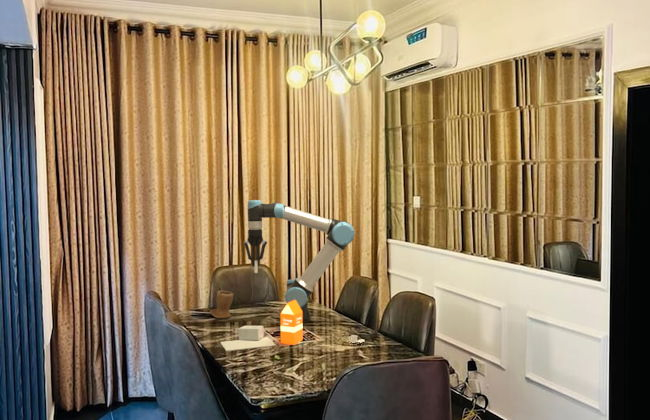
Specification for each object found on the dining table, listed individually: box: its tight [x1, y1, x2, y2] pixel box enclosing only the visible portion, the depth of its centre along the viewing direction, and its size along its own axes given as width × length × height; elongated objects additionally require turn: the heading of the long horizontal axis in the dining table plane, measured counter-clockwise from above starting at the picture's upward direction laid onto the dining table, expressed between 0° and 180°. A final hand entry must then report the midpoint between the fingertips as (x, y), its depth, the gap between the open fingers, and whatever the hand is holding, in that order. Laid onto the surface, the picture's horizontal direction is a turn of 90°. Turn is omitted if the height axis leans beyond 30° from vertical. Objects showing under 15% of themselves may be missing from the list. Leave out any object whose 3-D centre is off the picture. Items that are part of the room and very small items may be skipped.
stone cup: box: [209, 290, 234, 319], centre depth 333 cm, size 15×12×15 cm
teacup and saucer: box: [348, 334, 365, 344], centre depth 277 cm, size 9×8×4 cm
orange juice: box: [280, 300, 304, 346], centre depth 280 cm, size 8×9×20 cm
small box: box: [238, 325, 265, 340], centre depth 286 cm, size 8×6×10 cm
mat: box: [219, 336, 277, 352], centre depth 277 cm, size 24×15×1 cm, turn 111°
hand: (255, 272), depth 309 cm, fingers closed
